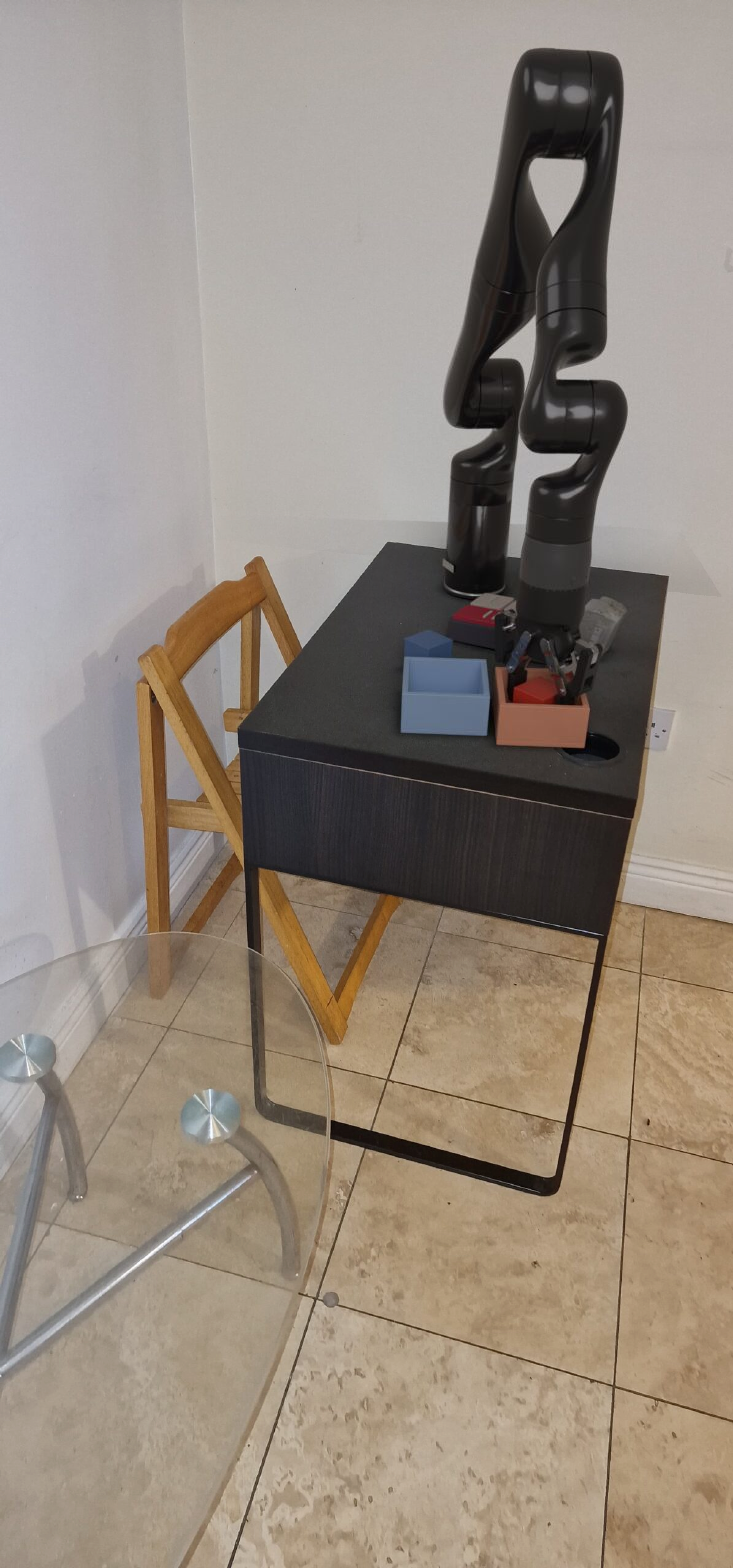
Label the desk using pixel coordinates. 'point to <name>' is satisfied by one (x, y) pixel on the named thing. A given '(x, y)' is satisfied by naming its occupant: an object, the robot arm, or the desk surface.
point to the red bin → (537, 717)
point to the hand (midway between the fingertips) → (538, 709)
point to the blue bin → (445, 696)
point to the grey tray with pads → (480, 621)
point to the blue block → (428, 645)
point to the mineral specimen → (601, 621)
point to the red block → (535, 692)
